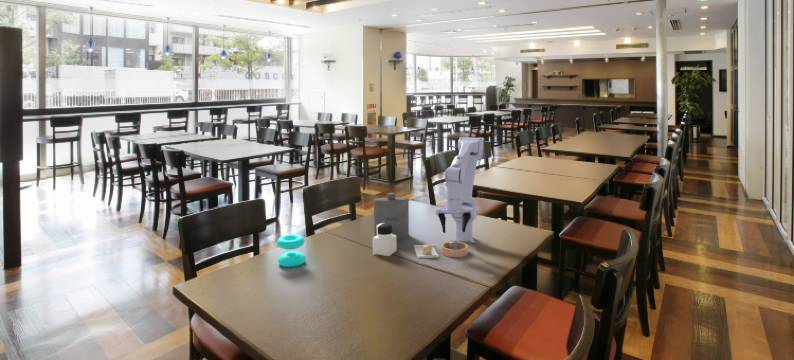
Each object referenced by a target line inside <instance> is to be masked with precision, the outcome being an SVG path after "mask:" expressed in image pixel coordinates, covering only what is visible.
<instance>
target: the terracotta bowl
mask: <svg viewBox="0 0 794 360" xmlns="http://www.w3.org/2000/svg"><path fill="white" fill-rule="evenodd" d="M440 246H441V248H440V251H441V253H442V255H444V256H446V257H451V258H462V257H465V256H467V255H468V253H469V245H468V244H467V243H465V242H463V241H458V250H452V249H449V241H445V242H443V243H442V244H441V245H440Z"/></svg>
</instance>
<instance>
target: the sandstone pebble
mask: <svg viewBox="0 0 794 360" xmlns="http://www.w3.org/2000/svg"><path fill="white" fill-rule="evenodd" d="M422 245H423V246H422V255H432V244H429V243H427V244H426V243H424V244H422Z"/></svg>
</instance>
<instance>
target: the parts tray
mask: <svg viewBox="0 0 794 360" xmlns="http://www.w3.org/2000/svg"><path fill="white" fill-rule="evenodd" d="M423 245H424V244H414V245H413V248H414V251H415V255H416V257H417V259H429V258H430V259H432V258H439V257H440V255H439V254H438V252H437V251H436V249H435V244H431V245H432V255H422V246H423Z"/></svg>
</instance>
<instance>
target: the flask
mask: <svg viewBox="0 0 794 360" xmlns="http://www.w3.org/2000/svg"><path fill="white" fill-rule="evenodd" d="M409 209H410V208H409V198H408V197H406V196H398V197H397V196H396V193H395V192H388V193H387V195H386V197H377V198H374V199H373V229H374V230H373V231H374V232H373V233H374V235H373V238H374V237H375V236H377V225H378V224H381V223H388V224H391V225H392V235H396V240H397V239H405V238H408V237H409V235H410V233H409V232H410V227H409V226H410V225H409V224H410V223H409V221H410V219H409V217H410V215H409V212H410V211H409Z"/></svg>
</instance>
